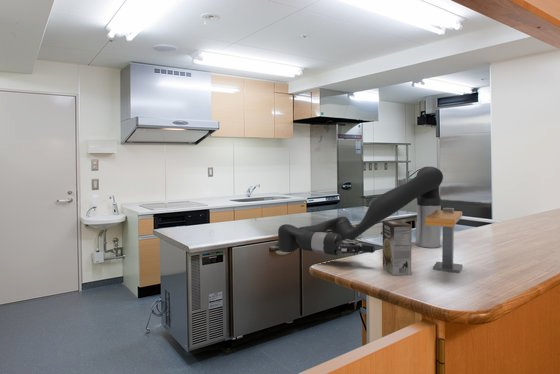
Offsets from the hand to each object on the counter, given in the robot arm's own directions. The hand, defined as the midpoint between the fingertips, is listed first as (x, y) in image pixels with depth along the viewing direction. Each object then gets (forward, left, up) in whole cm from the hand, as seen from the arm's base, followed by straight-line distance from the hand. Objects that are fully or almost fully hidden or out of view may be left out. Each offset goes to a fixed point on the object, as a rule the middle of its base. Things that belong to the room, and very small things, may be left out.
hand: (374, 249), depth 126 cm
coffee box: (+4, +6, -7) cm, 10 cm away
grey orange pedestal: (+12, +18, -7) cm, 23 cm away
